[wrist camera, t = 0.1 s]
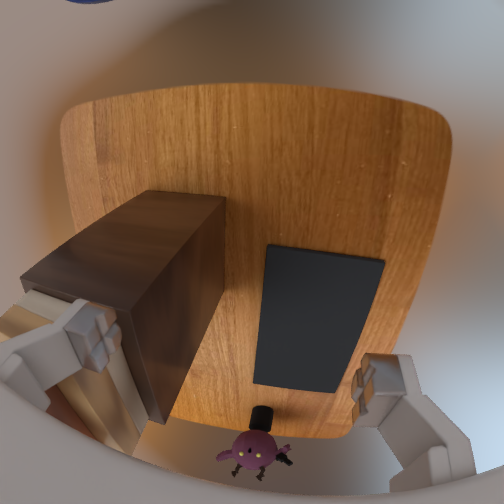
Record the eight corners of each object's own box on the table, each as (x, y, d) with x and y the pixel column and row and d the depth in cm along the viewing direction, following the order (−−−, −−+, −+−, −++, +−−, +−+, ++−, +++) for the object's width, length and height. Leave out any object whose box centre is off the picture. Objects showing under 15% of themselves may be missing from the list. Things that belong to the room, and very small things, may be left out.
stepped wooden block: (31, 288, 12) (-44, 362, 6) (112, 315, 11) (29, 429, 6) (79, 388, 16) (37, 453, 11) (149, 417, 16) (112, 497, 10)
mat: (267, 243, 26) (267, 246, 26) (384, 260, 25) (385, 263, 24) (253, 380, 36) (252, 383, 35) (334, 390, 34) (334, 393, 34)
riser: (145, 190, 26) (19, 276, 12) (226, 196, 25) (129, 311, 11) (154, 278, 31) (71, 387, 17) (224, 291, 30) (165, 425, 16)
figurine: (300, 411, 38) (292, 482, 27) (269, 428, 42) (257, 490, 31) (255, 390, 37) (237, 466, 26) (227, 410, 41) (208, 474, 30)
